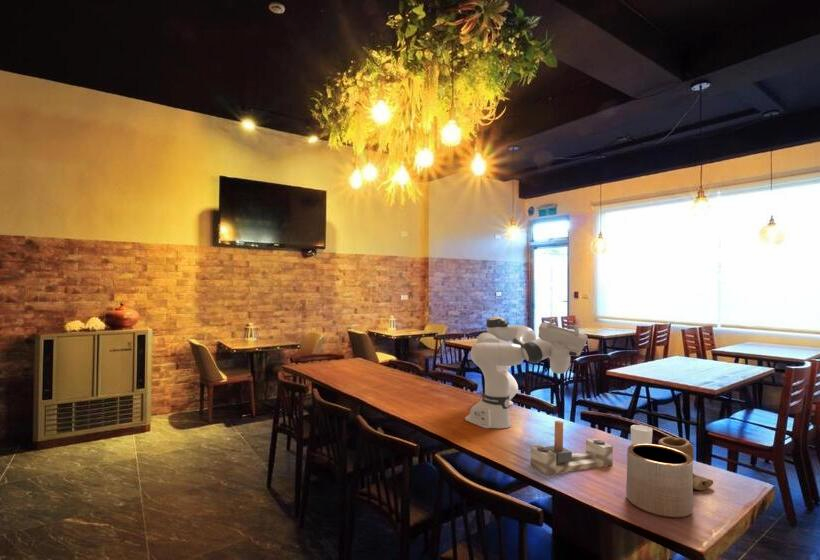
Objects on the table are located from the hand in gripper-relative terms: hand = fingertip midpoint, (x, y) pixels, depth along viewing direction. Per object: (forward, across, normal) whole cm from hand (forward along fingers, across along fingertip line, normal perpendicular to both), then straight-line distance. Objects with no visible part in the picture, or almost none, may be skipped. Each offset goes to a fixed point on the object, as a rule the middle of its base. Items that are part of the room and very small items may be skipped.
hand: (563, 322), depth 186 cm
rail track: (-26, +19, +46) cm, 56 cm away
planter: (-12, +47, +56) cm, 74 cm away
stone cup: (-23, +53, +38) cm, 69 cm away
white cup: (-40, +40, +20) cm, 60 cm away
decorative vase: (-76, -30, -4) cm, 82 cm away
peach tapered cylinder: (-22, +15, +49) cm, 56 cm away
